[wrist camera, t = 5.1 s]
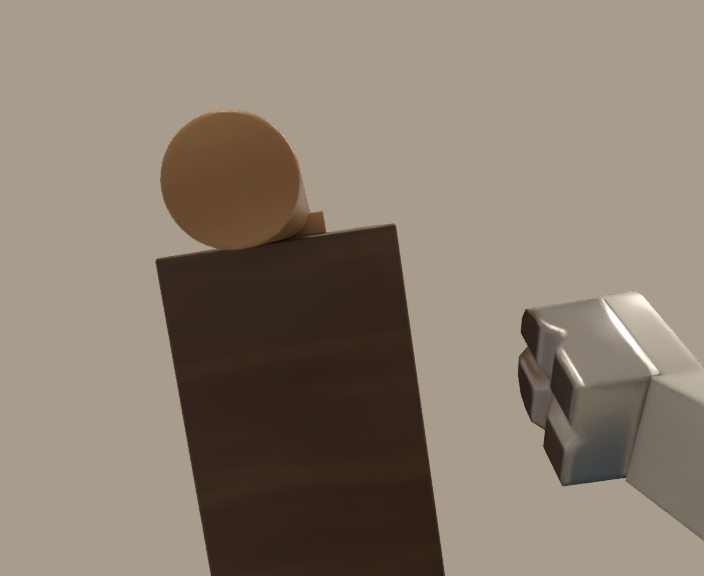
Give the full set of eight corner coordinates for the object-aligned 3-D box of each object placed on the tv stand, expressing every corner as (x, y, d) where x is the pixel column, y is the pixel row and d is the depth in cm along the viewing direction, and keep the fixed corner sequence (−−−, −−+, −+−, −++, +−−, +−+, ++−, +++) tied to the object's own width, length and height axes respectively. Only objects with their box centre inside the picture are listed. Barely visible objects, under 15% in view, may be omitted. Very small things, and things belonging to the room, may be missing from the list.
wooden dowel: (344, 234, 11) (323, 94, 11) (137, 265, 11) (112, 123, 11) (324, 232, 33) (317, 186, 33) (256, 242, 33) (248, 196, 33)
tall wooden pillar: (489, 893, 23) (396, 223, 21) (273, 935, 23) (154, 259, 21) (430, 670, 35) (366, 226, 33) (287, 696, 35) (212, 249, 33)
